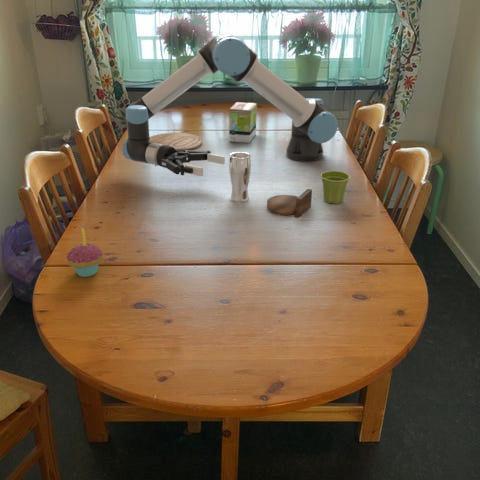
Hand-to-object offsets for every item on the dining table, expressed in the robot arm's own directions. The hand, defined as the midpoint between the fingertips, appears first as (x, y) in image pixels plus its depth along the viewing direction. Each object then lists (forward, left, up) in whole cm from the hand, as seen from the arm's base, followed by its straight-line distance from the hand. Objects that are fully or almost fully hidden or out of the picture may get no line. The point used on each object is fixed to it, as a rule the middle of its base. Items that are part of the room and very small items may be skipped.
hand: (213, 166), depth 165 cm
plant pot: (-38, +13, -10) cm, 41 cm away
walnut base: (-21, +16, -10) cm, 28 cm away
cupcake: (+38, +45, -10) cm, 60 cm away
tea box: (-23, -64, -10) cm, 68 cm away
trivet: (+9, -60, -10) cm, 61 cm away
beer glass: (-8, +6, -10) cm, 14 cm away
